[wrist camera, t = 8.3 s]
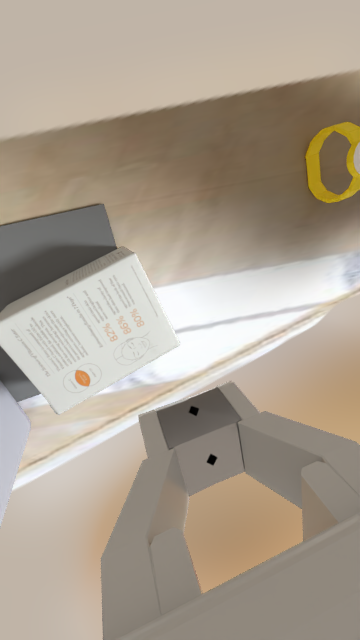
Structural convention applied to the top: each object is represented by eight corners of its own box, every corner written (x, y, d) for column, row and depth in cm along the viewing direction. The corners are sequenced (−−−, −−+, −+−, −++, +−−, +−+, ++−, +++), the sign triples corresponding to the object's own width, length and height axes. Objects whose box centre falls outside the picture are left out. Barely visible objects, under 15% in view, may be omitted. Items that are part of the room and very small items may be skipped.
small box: (124, 244, 23) (3, 303, 22) (136, 251, 18) (-21, 328, 17) (163, 322, 27) (61, 378, 25) (182, 346, 22) (56, 417, 20)
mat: (103, 204, 22) (103, 203, 22) (147, 354, 28) (148, 356, 27) (-82, 244, 19) (-86, 245, 19) (7, 402, 25) (6, 405, 24)
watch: (294, 141, 26) (349, 113, 20) (319, 133, 26) (379, 104, 21) (304, 208, 28) (357, 199, 22) (327, 199, 28) (384, 189, 23)
